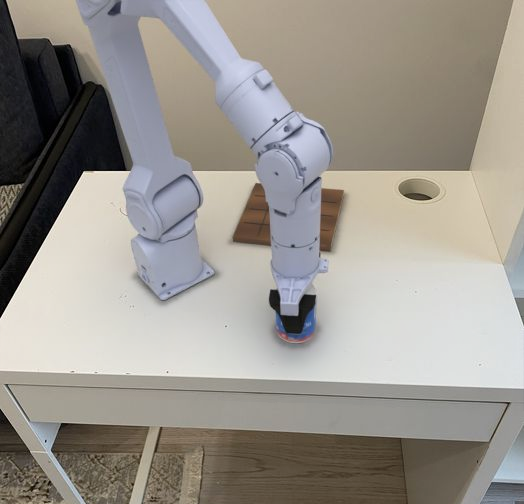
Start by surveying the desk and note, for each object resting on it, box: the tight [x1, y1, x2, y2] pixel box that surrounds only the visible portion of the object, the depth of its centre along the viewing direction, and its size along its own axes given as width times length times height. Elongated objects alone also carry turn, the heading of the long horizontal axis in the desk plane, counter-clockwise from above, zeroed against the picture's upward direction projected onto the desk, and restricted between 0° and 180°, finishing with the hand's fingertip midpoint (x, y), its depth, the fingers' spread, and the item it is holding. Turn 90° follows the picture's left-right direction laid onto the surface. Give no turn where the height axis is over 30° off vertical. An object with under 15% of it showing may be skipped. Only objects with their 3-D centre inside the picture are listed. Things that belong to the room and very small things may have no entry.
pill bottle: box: [275, 281, 318, 344], centre depth 72 cm, size 6×5×10 cm
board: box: [232, 182, 345, 252], centre depth 92 cm, size 16×16×1 cm
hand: (295, 315), depth 73 cm, fingers closed on pill bottle, 5 cm apart
